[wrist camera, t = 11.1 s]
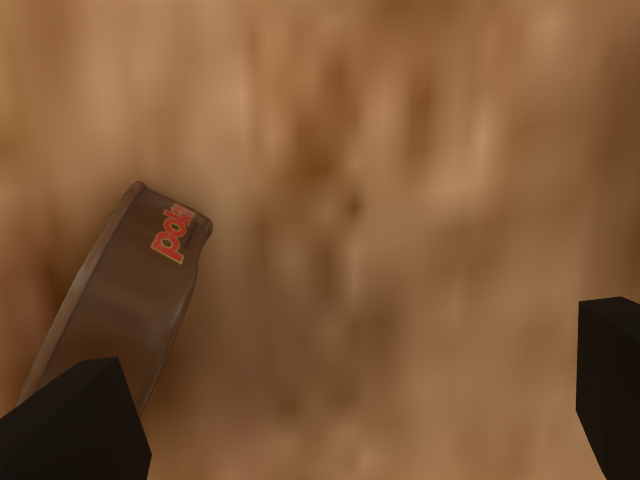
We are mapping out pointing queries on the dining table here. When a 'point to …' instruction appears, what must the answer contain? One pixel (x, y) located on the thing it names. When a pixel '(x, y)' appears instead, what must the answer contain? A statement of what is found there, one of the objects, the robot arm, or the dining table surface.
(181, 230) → the tin
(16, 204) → the dining table surface
